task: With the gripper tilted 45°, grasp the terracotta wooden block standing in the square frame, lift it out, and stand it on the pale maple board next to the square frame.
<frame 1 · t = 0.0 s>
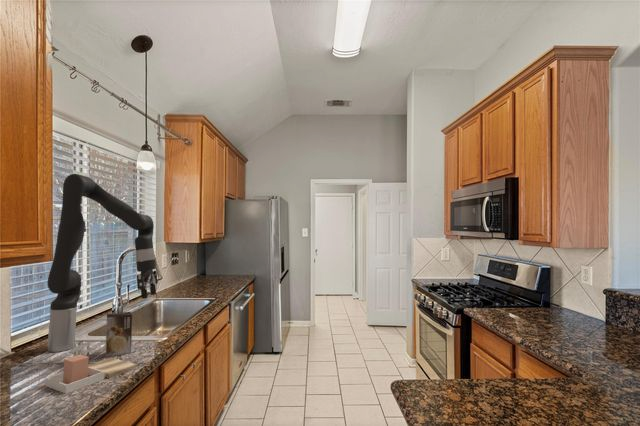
hand: (149, 296, 149), 22 cm above the countertop, tool pointing down, fingers open, 8 cm apart
square frame: (75, 382, 114), on the countertop
maple board: (110, 369, 125), on the countertop
coffee box: (118, 353, 142), on the countertop
terracotta block: (76, 370, 115), in the square frame
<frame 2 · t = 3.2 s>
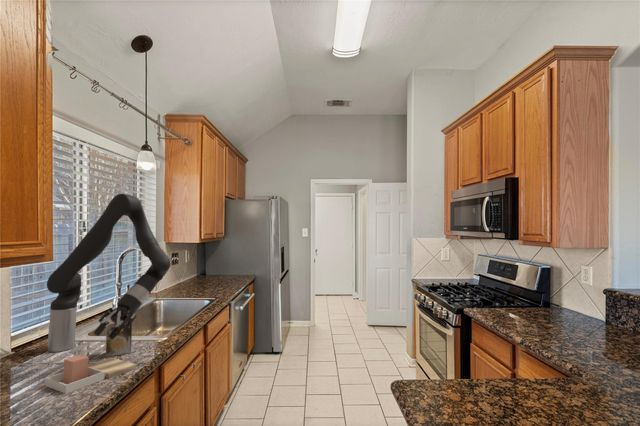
hand: (102, 336, 123), 13 cm above the countertop, tool tilted 45°, fingers open, 8 cm apart
nothing on the countertop moved.
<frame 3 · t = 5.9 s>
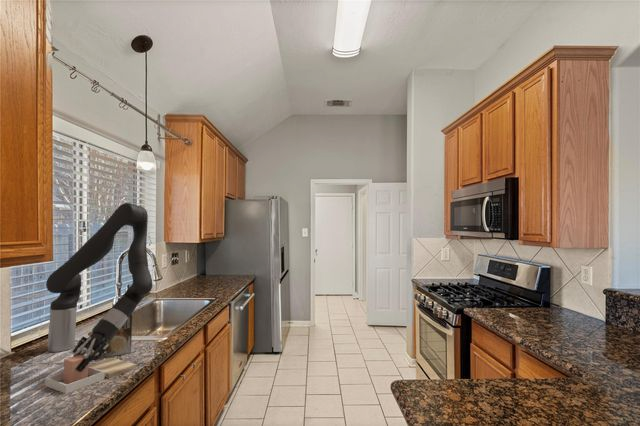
hand: (73, 368, 114), 5 cm above the countertop, tool tilted 45°, fingers closed on terracotta block, 5 cm apart
terracotta block: (75, 370, 115), in the square frame, touching gripper
everything else where it was.
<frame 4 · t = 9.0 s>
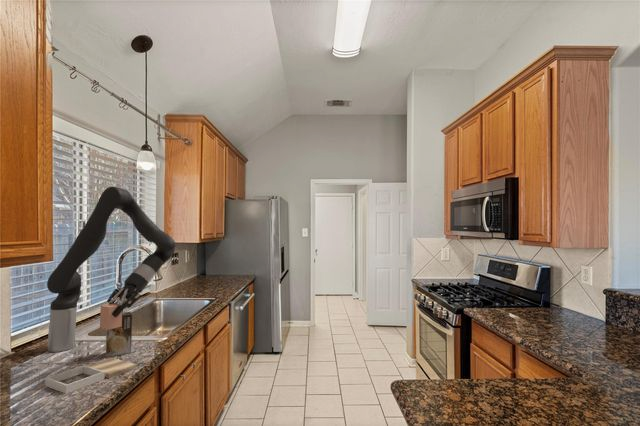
hand: (109, 314, 125), 20 cm above the countertop, tool tilted 45°, fingers closed on terracotta block, 5 cm apart
terracotta block: (111, 316, 125), point 20 cm above the countertop, touching gripper
everything else where it was.
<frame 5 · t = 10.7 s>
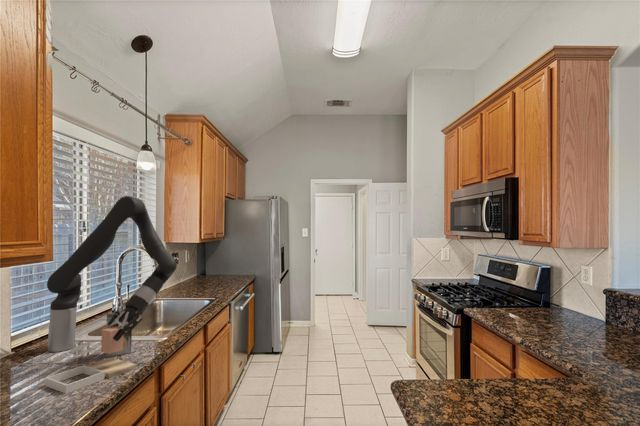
hand: (110, 338, 125), 11 cm above the countertop, tool tilted 45°, fingers closed on terracotta block, 5 cm apart
terracotta block: (112, 339, 126), point 11 cm above the countertop, touching gripper
everything else where it was.
when the fingers open (7 cm above the countertop, at t = 12.0 s): terracotta block stays where it is, resting on maple board.
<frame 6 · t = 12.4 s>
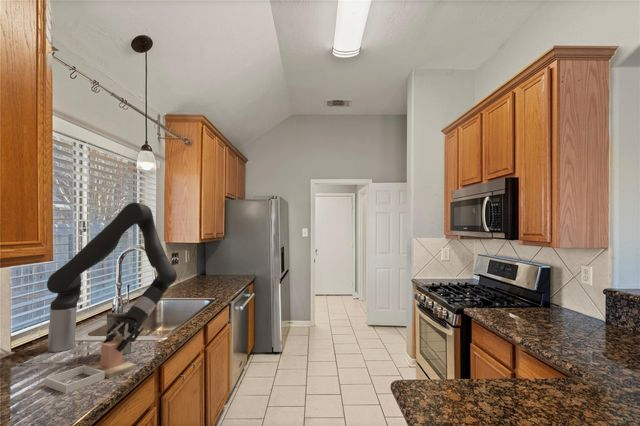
hand: (110, 348, 125), 8 cm above the countertop, tool tilted 45°, fingers open, 8 cm apart
terracotta block: (111, 354, 126), on the maple board, point 6 cm above the countertop
everything else where it was.
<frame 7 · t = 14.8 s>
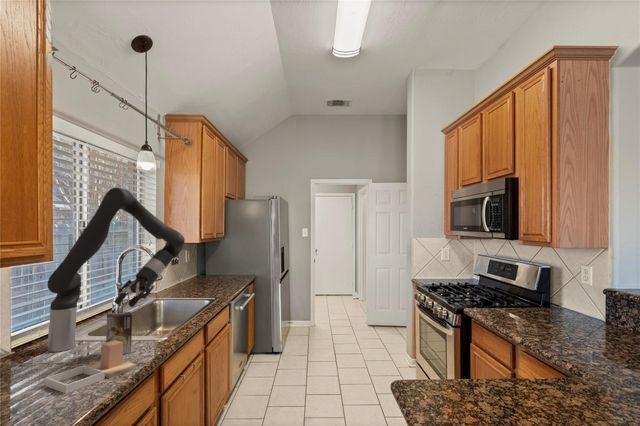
hand: (123, 304, 131), 23 cm above the countertop, tool tilted 45°, fingers open, 8 cm apart
nothing on the countertop moved.
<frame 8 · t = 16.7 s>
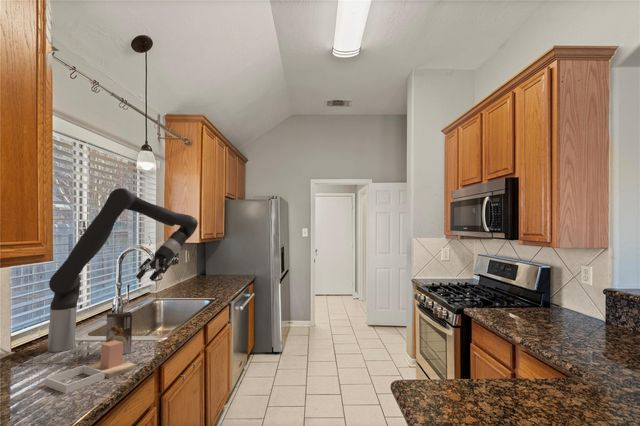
hand: (144, 279, 144), 31 cm above the countertop, tool tilted 45°, fingers open, 8 cm apart
nothing on the countertop moved.
at the end: terracotta block inside the target area (0.2 cm from its centre), point 5.5 cm above the countertop; terracotta block tilted 0°; the gripper is holding nothing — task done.
